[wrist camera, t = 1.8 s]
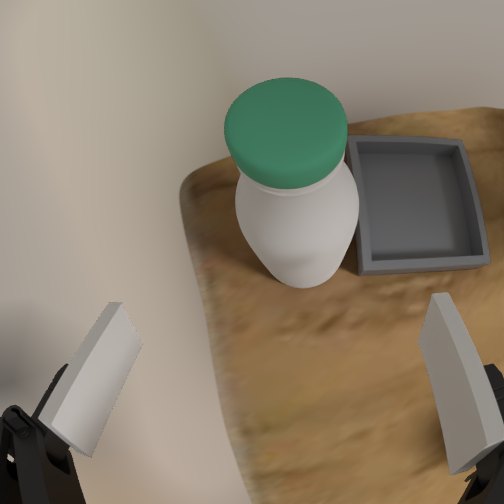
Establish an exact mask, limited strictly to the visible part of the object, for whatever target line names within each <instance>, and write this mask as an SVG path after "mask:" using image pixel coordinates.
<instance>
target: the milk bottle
mask: <svg viewBox="0 0 504 504" xmlns="http://www.w3.org/2000/svg"><path fill="white" fill-rule="evenodd" d="M347 133H348V123H347V118H346V114H345V112H344V109H343V107H342V105H341V103H340V102H339V100H338V99H337V98H336V97H335V96H334V95H333V94H332V93H331V92H330V91H329V90H327V89H326V88H324V87H323V86H321V85H319V84H317V83H314V82H311V81H308V80H304V79H299V78H278V79H272V80H267V81H264V82H261V83H259V84H256V85H254V86H252V87H251V88H249V89H247V90H246V91H244V92H243V93H242V94H241V95H240V96H239V97H238V98H237V99H236V100H235V101H234V102H233V104H232V105H231V107H230V109H229V110H228V112H227V115H226V118H225V126H224V134H225V140H226V143H227V146H228V149H229V151H230V153H231V156H232V157H233V159H234V161H235V163H236V165H237V167H238V170H239V171H240V173H241V175H240V178H239V181H238V184H237V189H236V196H235V205H236V215H237V219H238V222H239V226H240V228H241V231H242V233H243V235H244V237H245V239H246V240H247V242H248V244H249V245H250V247H251V248H252V250H253V251H254V252H255V254H256V255H257V256H258V258H259V259H260V260H261V262H262V263H263V264H264V265H265V267H266V268H267V269H268V270H269V271H270V273H271V274H272V275H273V276H274V277H275V278H276V279H278V280H279V281H280V282H282V283H284V284H286V285H288V286H291V287H295V288H310V287H315V286H317V285H320V284H322V283H324V282H325V281H327V280H328V279H329V278H330V277H331V276H332V275H333V274H334V273H335V272H336V270H337V269H338V267H339V266H340V264H341V262H342V260H343V258H344V256H345V253H346V251H347V249H348V247H349V245H350V242H351V240H352V237H353V235H354V232H355V228H356V225H357V221H358V215H359V196H358V191H357V186H356V183H355V180H354V178H353V176H352V174H351V172H350V170H349V168H348V166H347V165H346V164H345V163H344V161H343V160H344V156H345V147H346V142H347Z"/></svg>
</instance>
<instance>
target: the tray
mask: <svg viewBox="0 0 504 504" xmlns="http://www.w3.org/2000/svg"><path fill="white" fill-rule="evenodd" d="M345 154H346V161H347V166H348V168H349V170H350V172H351V174H352V176H353V178H354V180H355V183H356V186H357V191H358V196H359V215H358V221H357V225H356V228H355V237H356V250H357V264H358V276H368V275H387V274H405V273H421V272H437V271H451V270H465V269H477V268H479V267H482V266H484V265H487V264H489V263H491V262H490V254H489V247H488V241H487V235H486V229H485V224H484V219H483V214H482V209H481V205H480V200H479V196H478V192H477V188H476V184H475V180H474V177H473V173H472V170H471V166H470V163H469V160H468V157H467V153H466V150H465V147H464V144H463V141H462V140H457V139H446V138H433V137H417V136H393V135H347V142H346V147H345Z"/></svg>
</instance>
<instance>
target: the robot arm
mask: <svg viewBox="0 0 504 504" xmlns="http://www.w3.org/2000/svg"><path fill="white" fill-rule="evenodd" d="M418 343H419V346H420V349H421V352H422V356H423V359H424V362H425V365H426V369H427V372H428V376H429V379H430V383H431V387H432V390H433V394H434V398H435V402H436V406H437V410H438V414H439V419H440V423H441V428H442V433H443V438H444V443H445V448H446V453H447V459H448V465H449V472H450V476H451V475H455V474H458V473H461V472H464V471H467V470H469V469H470V468H472V467H473V466H474V465H476V468H477V470H476V471H475V472H473V473H472V474H471V475H469V476H468V477H467V478H466V480H465V482H467V481H469V480H470V479H471V481H470V483H469V484H468V486H467V488H466V490H465V492H464V493H463V495H462V497H461V499H460V500H459V502H458V504H504V378H503V375H502V373H501V372H500V371H499V370H498V369H497V367H496V366H495V365H494V364H489V365H485V366H483V364H482V362H481V360H480V357H479V355H478V353H477V350H476V348H475V346H474V344H473V341H472V339H471V337H470V335H469V333H468V331H467V329H466V326H465V324H464V322H463V320H462V318H461V316H460V314H459V312H458V310H457V308H456V306H455V304H454V303H453V301H452V299H451V297H450V295H449V293H448V292H445V293H435V294H432V296H431V300H430V303H429V307H428V310H427V314H426V317H425V320H424V324H423V327H422V330H421V333H420V336H419V339H418ZM142 346H143V343H142V341H141V339H140V338H139V336H138V334H137V332H136V330H135V328H134V326H133V324H132V322H131V320H130V318H129V316H128V314H127V312H126V310H125V307H124V305H123V303H118V302H109V304H108V305H107V306H106V308H105V309H104V311H103V312H102V314H101V315H100V317H99V318H98V320H97V321H96V323H95V324H94V326H93V327H92V329H91V330H90V332H89V333H88V335H87V336H86V338H85V339H84V341H83V343H82V344H81V346H80V347H79V349H78V350H77V352H76V353H75V355H74V357H73V358H72V360H71V361H70V363H69V364H65V365H64V366H63V367H62V368H61V369H60V370H59V371H58V372H57V374H56V375H55V377H54V379H53V382H52V383H51V384H50V385H49V388H48V390H47V391H46V393H45V394H44V396H43V397H42V399H41V401H40V403H39V405H38V406H37V408H36V410H35V412H34V413H33V415H32V416H31V417H29V416H28V415H27V414H26V413H25V412H24V411H23V410H22V409H21V408H20V407H19V406H17V405H13V406H10V407H8V408H7V409H6V410H5V411H4V412H3V415H2V417H0V504H86V502H85V499H84V496H83V493H82V490H81V487H80V483H79V480H78V476H77V473H76V469H75V466H74V462H73V458H72V455H71V453H70V451H69V450H68V449H69V447H72V448H73V449H74V450H76V451H77V452H79V453H81V454H83V455H86V456H88V457H92V455H93V453H94V450H95V448H96V446H97V443H98V441H99V438H100V436H101V434H102V431H103V429H104V427H105V424H106V422H107V420H108V418H109V415H110V413H111V411H112V409H113V407H114V404H115V402H116V400H117V398H118V396H119V394H120V391H121V389H122V387H123V385H124V383H125V381H126V379H127V376H128V374H129V372H130V370H131V368H132V366H133V364H134V362H135V360H136V358H137V356H138V353H139V351H140V350H141V347H142ZM8 454H9V455H10V456H12V457H13V458H14V461H13V462H11V461H9V460H8V459H7V457H8Z"/></svg>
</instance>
